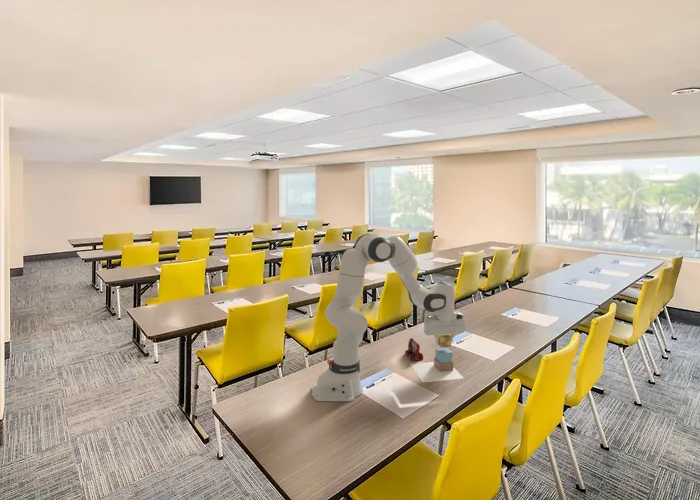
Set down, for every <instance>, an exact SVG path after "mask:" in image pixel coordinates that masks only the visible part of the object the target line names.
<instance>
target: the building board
mask: <svg viewBox="0 0 700 500" xmlns="http://www.w3.org/2000/svg"><path fill="white" fill-rule="evenodd" d="M409 366H410V367H411V368H412V370H413V371H414V372H415V373H416V375H417V377H418V378H419V379H420V380H421V382H422V383H423V384H424V383H431V382H442V381H451V380H461V379H464V377H463V375H461V373H460V372H459V371H458V370H457V369H456V368H454V362H453V361H452V362H448V363H440V362H439V361H438V360H437V359H436V358H435V357H433V361H431V362H430V361H429V362H420V363H410V364H409Z"/></svg>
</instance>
